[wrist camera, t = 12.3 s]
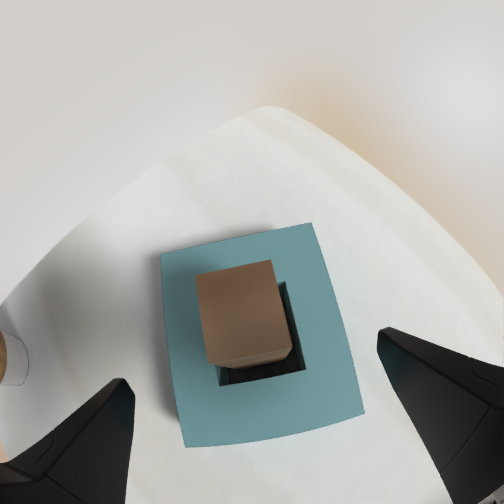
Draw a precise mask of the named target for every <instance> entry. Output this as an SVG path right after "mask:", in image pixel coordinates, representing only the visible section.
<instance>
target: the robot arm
mask: <svg viewBox="0 0 504 504" xmlns="http://www.w3.org/2000/svg"><path fill="white" fill-rule="evenodd" d="M377 353H378V356H379V358H380V360H381V362H382V365H383V367H384V369H385V371H386V374H387V376H388V378H389V381H390V383H391V385H392V387H393V389H394V391H395V393H396V394H397V396H398V398H399V400H400V401H401V403H402V405H403V407H404V408H405V410H406V412H407V414H408V415H409V417H410V419H411V421H412V423H413V424H414V426H415V428H416V430H417V432H418V433H419V435H420V437H421V439H422V441H423V443H424V445H425V447H426V448H427V450H428V452H429V454H430V456H431V458H432V460H433V462H434V464H435V466H436V468H437V470H438V472H439V474H440V476H441V478H442V480H443V482H444V485H445V487H446V489H447V491H448V493H449V495H450V497H451V499H452V502H453V504H478V503H479V502H481V501H482V500H484V499H485V498H486V497H488V496H489V495H491V494H492V495H493V497H494V499H493V500H492V501H491V502H489V503H488V504H504V367H500V366H496V365H492V364H489V363H486V362H483V361H480V360H477V359H474V358H471V357H470V358H469V357H468V356H466V355H463V354H460V353H458V352H455V351H452V350H450V349H447V348H444V347H441V346H439V345H436V344H433V343H431V342H428V341H426V340H423V339H420V338H418V337H415V336H412V335H410V334H407V333H405V332H402V331H399V330H397V329H394V328H392V327H387V328H384V329H381V330H379V332H378V339H377ZM134 413H135V394H134V392H133V391H132V389H131V388H130V386H129V384H128V383H127V381H126V380H125V379H123V378H115V379H113V380H112V381H110V382H109V383H108V384H107V385H106V386H105V387H103V388H102V389H101V390H100V391H99V392H97V393H96V394H95V395H94V396H93V397H92V398H90V399H89V400H88V401H87V402H86V403H84V404H83V405H82V406H81V407H80V408H78V409H77V410H76V411H75V412H74V413H72V414H71V415H70V416H69V417H68V418H67V419H65V420H64V421H63V422H62V423H61V424H59V425H58V426H57V427H56V428H55V429H54V430H52V431H51V432H50V433H49V434H47V435H46V436H45V437H44V438H42V439H41V440H40V441H39V442H37V443H36V444H34V445H33V446H31V447H30V448H29V449H27V450H26V451H24V452H23V453H21V454H20V455H18V456H17V457H15V458H14V459H12V460H10V461H8V462H5V463H0V504H125V497H126V486H127V477H128V468H129V460H130V453H131V446H132V439H133V431H134Z"/></svg>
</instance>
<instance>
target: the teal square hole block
mask: <svg viewBox="0 0 504 504" xmlns="http://www.w3.org/2000/svg"><path fill="white" fill-rule="evenodd" d="M160 255H161V277H162V293H163V306H164V318H165V328H166V337H167V346H168V354H169V361H170V369H171V375H172V382H173V388H174V394H175V400H176V405H177V411H178V416H179V421H180V426H181V431H182V436H183V440H184V444H185V448H188V447H209V446H221V445H231V444H240V443H247V442H254V441H261V440H267V439H272V438H278V437H283V436H288V435H292V434H297V433H301V432H305V431H309V430H313V429H317V428H321V427H324V426H328V425H331V424H335V423H338V422H341V421H344V420H347V419H350V418H353V417H356V416H359V415H362V414H365V412H364V407H363V403H362V398H361V393H360V389H359V384H358V380H357V376H356V371H355V367H354V363H353V359H352V355H351V351H350V347H349V343H348V339H347V336H346V332H345V328H344V325H343V321H342V317H341V314H340V310H339V307H338V303H337V300H336V297H335V293H334V290H333V287H332V283H331V280H330V277H329V274H328V271H327V267H326V264H325V261H324V258H323V255H322V252H321V249H320V246H319V243H318V240H317V237H316V234H315V231H314V229H313V226H312V223H306V224H301V225H296V226H291V227H286V228H281V229H276V230H271V231H266V232H261V233H256V234H252V235H247V236H242V237H237V238H233V239H228V240H223V241H218V242H214V243H209V244H205V245H200V246H195V247H191V248H186V249H182V250H177V251H173V252H168V253H164V254H160ZM269 259H271V261H272V265H273V269H274V273H275V277H276V281H277V285H278V289H279V293H280V297H281V299H282V298H284V302H285V306H286V310H287V314H288V318H289V323H290V327H291V331H292V335H293V340H294V344H295V348H296V353H297V357H298V361H299V366H300V370H301V371H297V372H293V373H288V374H284V375H279V376H275V377H270V378H265V379H260V380H254V381H249V382H243V383H237V384H231V385H229V381H228V376H227V370H226V367H223V366H218V365H213V364H209V363H208V360H207V354H206V348H205V342H204V336H203V330H202V323H201V316H200V309H199V302H198V294H197V287H196V279H195V275H199V274H204V273H208V272H213V271H218V270H223V269H227V268H232V267H237V266H241V265H246V264H251V263H255V262H260V261H264V260H269Z"/></svg>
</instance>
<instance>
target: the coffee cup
mask: <svg viewBox="0 0 504 504" xmlns="http://www.w3.org/2000/svg"><path fill="white" fill-rule="evenodd" d="M27 373H28V355H27V351H26V348H25V346H24V344H23V343H22V341H21V340H20V339H18V338H16V337H14V336H11V335H9V334H7V333H5V332H3V331H1V330H0V385H11V386H20V385H21V384H23V383H24V381H25V379H26V377H27Z"/></svg>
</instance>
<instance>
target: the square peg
mask: <svg viewBox="0 0 504 504" xmlns="http://www.w3.org/2000/svg"><path fill="white" fill-rule="evenodd" d="M195 279H196V287H197V294H198V302H199V309H200V316H201V323H202V330H203V336H204V342H205V348H206V354H207V360H208V363H209V364H213V365H218V366H223V367H228V368H233V369H239V370H240V369H245V368H250V367H256V366H261V365H265V364H270V363H275V362H279V361H284V360H285V358H286V357H287V355H288V353H289V352H290V350H291V348H292V343H291V338H290V334H289V330H288V326H287V322H286V318H285V313H284V309H283V305H282V301H281V297H280V293H279V289H278V285H277V281H276V277H275V273H274V269H273V265H272V261H271V259H269V260H264V261H260V262H255V263H251V264H246V265H241V266H237V267H232V268H227V269H223V270H218V271H213V272H208V273H204V274H199V275H195Z"/></svg>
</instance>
